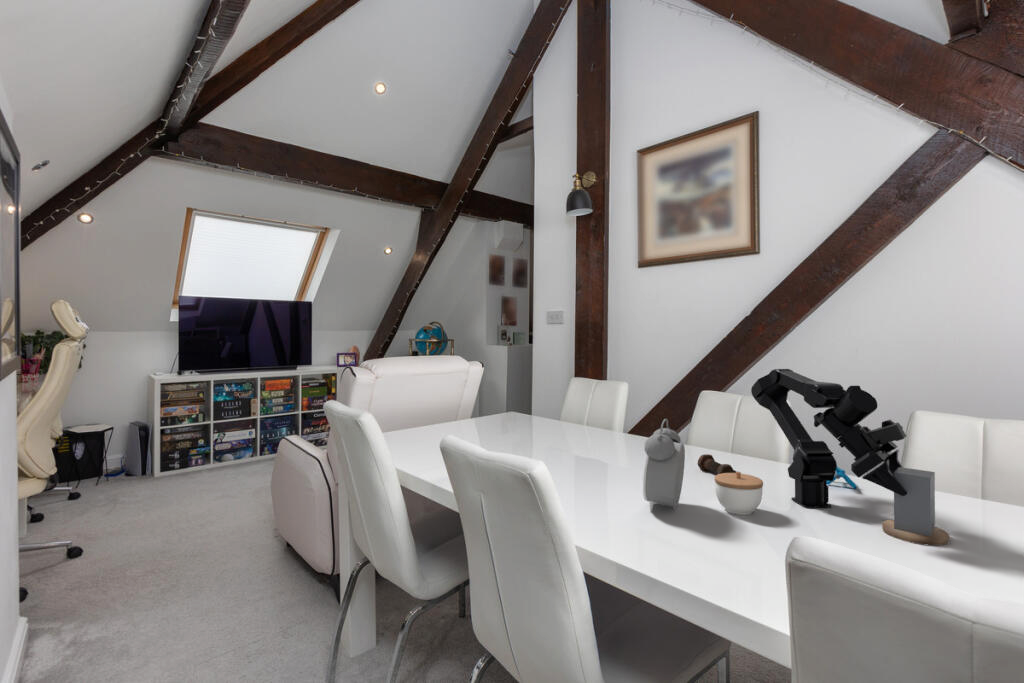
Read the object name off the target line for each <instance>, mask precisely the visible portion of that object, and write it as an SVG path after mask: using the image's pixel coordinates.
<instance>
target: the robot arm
mask: <svg viewBox="0 0 1024 683" xmlns="http://www.w3.org/2000/svg"><path fill="white" fill-rule="evenodd" d="M750 391H751V396H752V397H753V399H754V400H755V401H756V402H757V403H758V405H759V406H761V407H763V408H765V409H766V410H768V411H770V413H771V415H772V416H773V418H774V420H775V421H776V423H777V425H778V426H779V427H780V429H781V431H782V432H783V434H784V435H785V438H786V439H787V440H788V441H789V443H790V445H791V447H792V449H793V456H792V463H791V464H790V465H789V466H788V468H787V473H788V477H789V478H791V479H793V480H794V497H793V496H792V497H791V500H792V501H793V502H795V503H796V504H798V505H800V506H802V507H804V508H811V509H812V508H832V505H831V504H830V503H829V502H830V500H829V485H827V481H833V479H834V475H835V472H836V468H837V467H838V464H837V460H836V458H835V457H834V452H833V451H831V449H830V448H829V446H828V445H827V443H826V442H825V441H823V440H813V438H812V437H811V436H810V434H809V433H808V431H807V430H806V428H805V427H804V425H803V424H802V422H801V421H800V419H799V418H798V417H797V415H796V413H795V412H794V410H793V409H792V407H791V406H790V404H789V403H788V401H787V400H788V397H789V396H788V395H789V392H790V391H792V392H794V393H796V394H799V395H801V396H802V397H803V401H804V402H805V403H806V404H808V405H809V406H811V408H813V409H825V410H824V411H823V412H820V411H819V412H817V413H816V414H815V415H813V420H814V422H813V427H815V428H818V427H819V426H822V427H823V428H824V429H825V430H827V431H828V432H829V433H830V435H832V436H833V437H834V438H835V439H836V440H837V441H838V442H839V443H838V445H839V447H840V448H845V449H846V450H847V451H848V452H850V454H851V455H852V456H853V457H854V458H853V460H854V462H852V463H851V465H850V466H851V467H850V468H851V470H850V471H851V472H852V473H853V474H854V475H855V476H856V477H858V478H860V477H861V479H863V480H866V481H868V482H870V483H874V484H875V485H878V486H880V487H882V488H884V489H886V490H889V491H891V492H893V493H894V492H895V493H897V494H899V495H901V496H905V495H907V491H906V490H905V489H904V488H903V486H902V485H901V484H900V483H899V481H898V480H897V479H896V478H895V476H894V472H895V471H896V470H897V469H898V468H899V467H903V465H902V463H901V462H900V461H899V452H900V451H899V450H900V449H899V448H898V447H899V446H898V445H897V444H896V443H895V442H898V441H901V440H904V439H905V438H906V437H907V435H906V433H905V431H904V430H903V429H904V426H902V425H901V423H899V422H896V423H895V422H894V421H893V420H891V419H887V420H884V421H882V422H881V427H877V428H875V429H870V428H869V427H868V426H865V425H863V426H862V425H860V423H861V422H862V421H863V420H865V419H866V418H867V417H869V416H870V415H871V414H872V413H874V412H875V411H876V410H877V408H878V402H877V399H876V397H874V396H873V395H872V394H871V393H869V392H867V391H866V390H863V389H862V388H861V386H860V385H849V386H848V387H847V389H846V390H845V389H844V387H843V386H842V385H841V384H840V383H835V382H826V381H817V380H814V379H812V378H810V377H807V376H805V375H802V374H800V373H797V372H794V370H793V369H790V368H774V369H772V370H770V372H769V373H767V374H766V375H764V376H762V377H759V378H757V380H756V381H755V382H754V384H753V385H752V386H751V390H750ZM894 441H895V442H894ZM897 448H898V449H897ZM893 450H894V451H893ZM892 451H893V452H892ZM833 482H834V481H833Z"/></svg>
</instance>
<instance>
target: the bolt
mask: <svg viewBox="0 0 1024 683" xmlns="http://www.w3.org/2000/svg"><path fill="white" fill-rule="evenodd" d="M696 464H697V466H698V469H699V470H700V471H701V470H702V471H701V472H712V473H714V474H716V475H718V474H722V473H736V472H738V471H736V470H735V469H734V468H733V467H732V465H731V464H728V463H722V464H721V462H720V463H719V462H718V461H716V460H715V458H714V457H713V455H712V454H709V453H707V454H702V455H700V456H699V458H698V460H697V463H696ZM709 470H710V471H709Z"/></svg>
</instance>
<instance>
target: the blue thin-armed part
mask: <svg viewBox="0 0 1024 683" xmlns="http://www.w3.org/2000/svg"><path fill="white" fill-rule="evenodd" d="M840 478H842V479H844V481H845V482H846V483H847V484H849V485H850V486H851V488H853V489H856V488H855V487H858V485H857V484H856V483H855V482H854V481H853V480H852V479H851V477H849V476H848V475H847V474H846V471H845V470H844V469H842V468H841V467H838V466H837V468H836V471H835V475H834V479H833V481H827V484H829V485H830V484H832V483H833V482H834V481H837V480H839V479H840Z"/></svg>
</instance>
